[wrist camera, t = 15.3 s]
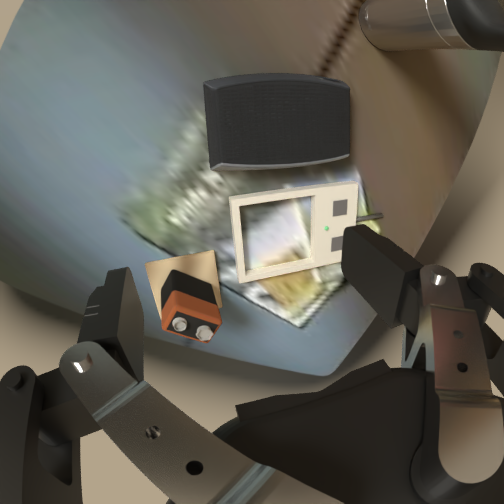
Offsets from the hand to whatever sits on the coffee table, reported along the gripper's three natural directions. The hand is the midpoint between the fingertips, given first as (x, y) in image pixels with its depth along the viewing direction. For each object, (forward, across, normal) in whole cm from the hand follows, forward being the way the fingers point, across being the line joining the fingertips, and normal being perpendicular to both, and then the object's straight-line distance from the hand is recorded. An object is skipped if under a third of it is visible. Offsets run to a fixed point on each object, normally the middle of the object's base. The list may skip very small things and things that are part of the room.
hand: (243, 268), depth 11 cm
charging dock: (+30, -17, +14) cm, 37 cm away
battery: (+30, +3, +20) cm, 36 cm away
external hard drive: (+31, -12, -2) cm, 33 cm away
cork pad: (+30, +4, +20) cm, 36 cm away
